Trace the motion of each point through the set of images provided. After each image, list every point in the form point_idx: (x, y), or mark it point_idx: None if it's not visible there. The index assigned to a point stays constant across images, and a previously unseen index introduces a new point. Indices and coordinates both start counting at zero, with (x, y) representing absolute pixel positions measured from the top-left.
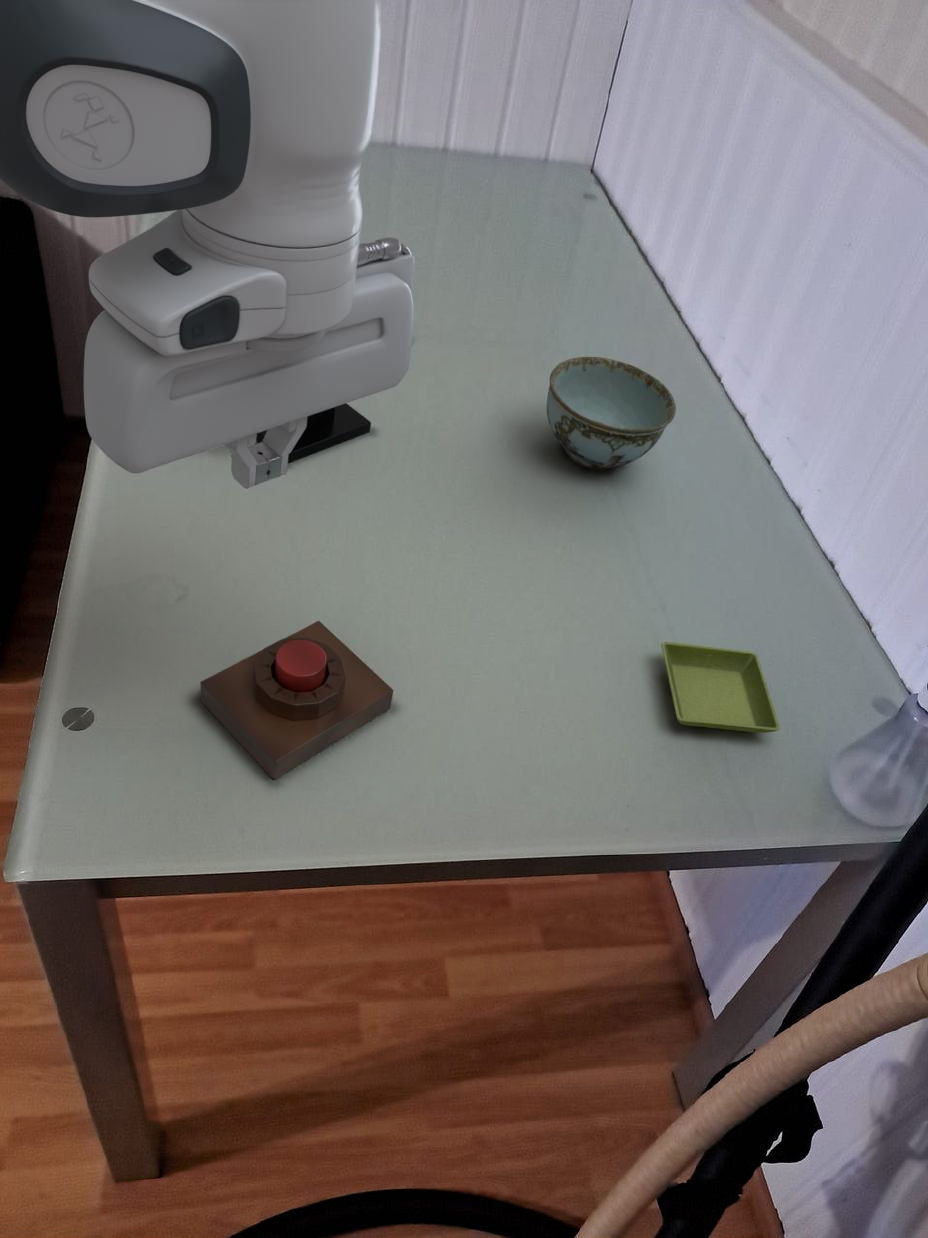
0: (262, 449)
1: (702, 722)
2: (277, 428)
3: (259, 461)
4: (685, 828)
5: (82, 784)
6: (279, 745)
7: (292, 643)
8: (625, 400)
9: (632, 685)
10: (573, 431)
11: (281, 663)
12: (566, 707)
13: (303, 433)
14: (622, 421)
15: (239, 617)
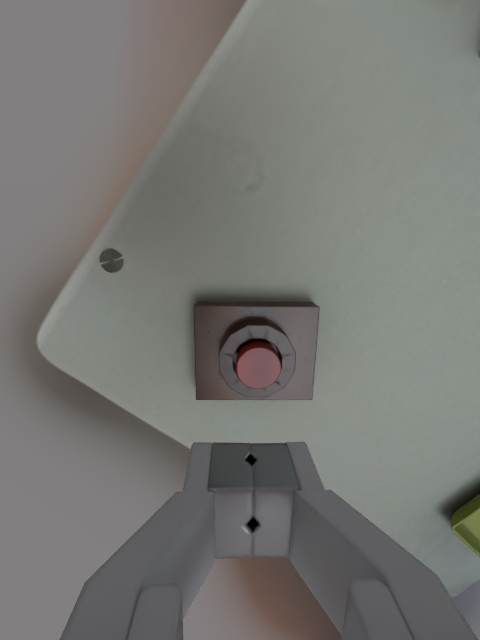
0: (268, 516)
1: (461, 539)
2: (341, 571)
3: (226, 551)
4: None
5: (88, 315)
6: (207, 390)
7: (263, 351)
8: None
9: (461, 473)
10: None
11: (240, 364)
12: (406, 459)
13: None
14: None
15: (277, 241)
